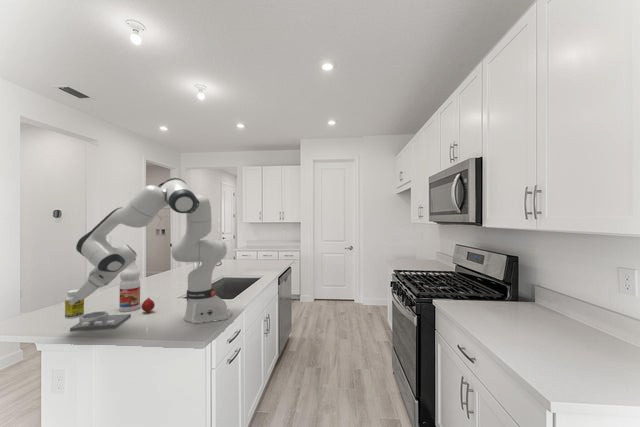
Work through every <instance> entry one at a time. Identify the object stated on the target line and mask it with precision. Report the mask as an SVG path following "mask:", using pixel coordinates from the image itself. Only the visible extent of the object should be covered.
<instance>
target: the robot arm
mask: <svg viewBox="0 0 640 427" xmlns="http://www.w3.org/2000/svg"><path fill="white" fill-rule="evenodd" d="M167 206H169V207H170V208H171V209H172V211H174V212H176V213H179V214H185V215H186V218H185V219H186V230H185V233H184V234H183V236H182V237H181V238H180V239H179V240H177V241H176V242H175V243H174V244H173V246H172V247H171V256H172V258H173V260H175V262H181V263H196V262H197V263H198V262H199V263H201V264H200V266H198V267H196V268H195V269H193V270H191V271H189V273H188V275H187V290H186V294H185V295H186V297H185V298H186V308H185V313H184V317H183V320H184V321H186V322H190V323H191V324H194V325H196V323H197V324H204V323H203V322H205V323H209V322H208V321H213V322H215V321H214V320H221V321H226V320H228V319H230V318H231V316H232V311H231V309H228V305H227V303H226V300H224V299H222V298H220V297H219V296H217V295H216V293H217V291H216V288H213V287H212V281H213V280H212V279H213V272H214V269H215V268H216V266H217V265H218V263H220V261H222V260H223V259H224V258H225V256H226V255H227V252H228V247H227V245H226V243H225V242H224V241H223V240H220V239H204V238H206V237H207V236H209V235H210V233H211V232H212V229H213V228H212V227H213V226H212V221H213V220H212V208H211V202H210V199H209V197H207V196H206V195H203V194H194V192H193V190H192V189H191V187H190V186H189V185H188V183H187V182H185V180H183V179H182V178H178V177H172V178H171V177H170V178H169V179H167V180H165V181H164V182H162V183H159V185H158V186H157V185H154V184H150V185H146V186H144V187H143V188H142V189H141V190H139V192H137V193H136V194H135V195H134V196H133V198H132V199H131V200H130V201H129V202H128V204H126V205H125V206H121V207H117V208H115V209H114V210H112V211H111V212H109V214H107V215H106V216H105V217H104V218H102V220H101V221H100V222H99V223H97V224H96V225H95V226H94V227H93V228H92V229H91V230H90V231H89V232H88V233H85V234H83V236H81V237H80V238H79V239H78V241H77V243H76V245H75V246H76V247H75V250H76V252H77V253H79V254H80V255H81V256H83V257H84V258H85V259H86V260H87V262H89V263H90V264H92V265H93V266H94V268H93V269H92V270H90V272H89V273H88V277H87V280H86V281H85V282H84V284H82V285H81V286H80V287H79V288H78V289H79V290H78V291H77V292H76V293H75V294H74V298H73V299H72V300H71V301H70V302H69V304H70V305H73V304H74V303H76V302H77V301H78V300H80V301H81V300H83V299H84V300H85V299H86V298H88V297H89V296H90V295H92V294H93V293H94V292H95V291H97V290H98V289H101V288H103V287H106V286H108V285H109V284H110V283H112V281H113V280H115V279H116V278H117V277H118V275H120V273H121V271H123V270H124V269H126V268H127V267H128V266H129V265H130V264H131V263H132V262H133V260H134V259H135V258H136V259H137V252H136V251H135V250H134V249H133V248H132V247H130V245H128V244H123V245H121V246H119V247H114V246H113V245H111V244H110V242H108V240H107V236H108V235H109V234H110V233H111V232H112V231H113V230H114V229H115V228H116V227H118V226H119V225H124V226H126V227H131V228H136V229H138V228H140V229H141V228H143V227H144V228H145V227H147V226H148V225H149V224H151V222H152V221H153V220H154V219H155V218H156V217H157V215H158V214H159V213H160V211H161V210H162V209H164V208H165V207H167Z"/></svg>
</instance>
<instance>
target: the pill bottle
mask: <svg viewBox="0 0 640 427" xmlns="http://www.w3.org/2000/svg"><path fill="white" fill-rule="evenodd" d="M79 289H80V288H78V289H71V290H68V291H67V296H66V297H65V300H64V318H65V319H68V320H72V319H74V320H75V319H78V318H79V317H81V316H83V315H84V314H85V299H83V300H81V301H80V300H78V301H77V302H76V303H74V304H73V305H70V304H69V302H70V301H71V300H72V299H73V298H74V294H75V293H76V292H77V291H78V290H79Z"/></svg>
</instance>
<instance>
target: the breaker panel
mask: <svg viewBox="0 0 640 427" xmlns="http://www.w3.org/2000/svg"><path fill="white" fill-rule="evenodd" d="M131 317H132V314H131V313H126V314H124V313H123V314H108V319H106V320H105V321H103V322H102V321H96V322H95V323H94V324H90V322H84V323H82V324H81V323H79V322H78V323H76V324H75V325H72V326H71V327H70V328H69V331H70V332H78V331H79V332H80V331H94V330H95V331H96V330H98V331H99V330H111V329H112V330H113V329H115V330H116V329H117V328H119V327H120V326H121V325H123V324H124V323H125V322H126V321H128V320H129V319H130V318H131Z"/></svg>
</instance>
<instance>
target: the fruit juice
mask: <svg viewBox="0 0 640 427" xmlns="http://www.w3.org/2000/svg"><path fill="white" fill-rule="evenodd" d="M136 260H137V257H136V258H135V259H134V260H133V262H132V263H131V264H130V265H129V266H128V267H127V268H126V269H124V270H123V271H121V272H120V273H119V278H120V282H119V311H120V312H124V313H125V312H132V311H136V310H139V309H140V308H141V280H140V276H141V272H140V270H139V268H138V266H137V264H136Z"/></svg>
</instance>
